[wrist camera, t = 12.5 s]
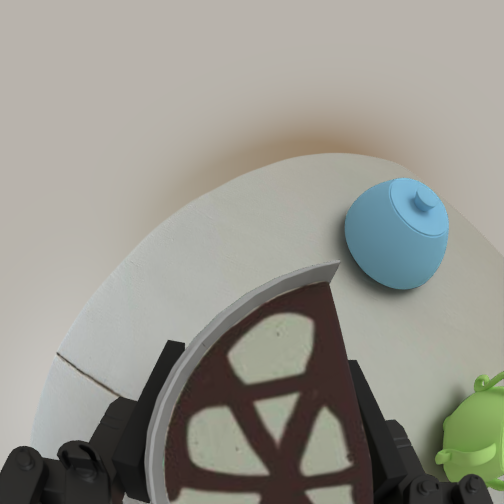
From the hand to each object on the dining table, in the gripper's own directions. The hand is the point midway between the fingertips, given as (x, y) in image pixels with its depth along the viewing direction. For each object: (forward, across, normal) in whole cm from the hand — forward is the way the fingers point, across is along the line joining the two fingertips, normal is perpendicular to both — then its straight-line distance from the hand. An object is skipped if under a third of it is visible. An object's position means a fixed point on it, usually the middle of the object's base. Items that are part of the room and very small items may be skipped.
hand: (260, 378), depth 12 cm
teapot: (+8, +32, -18) cm, 38 cm away
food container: (0, 0, -5) cm, 5 cm away
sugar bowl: (+28, +18, +2) cm, 33 cm away
